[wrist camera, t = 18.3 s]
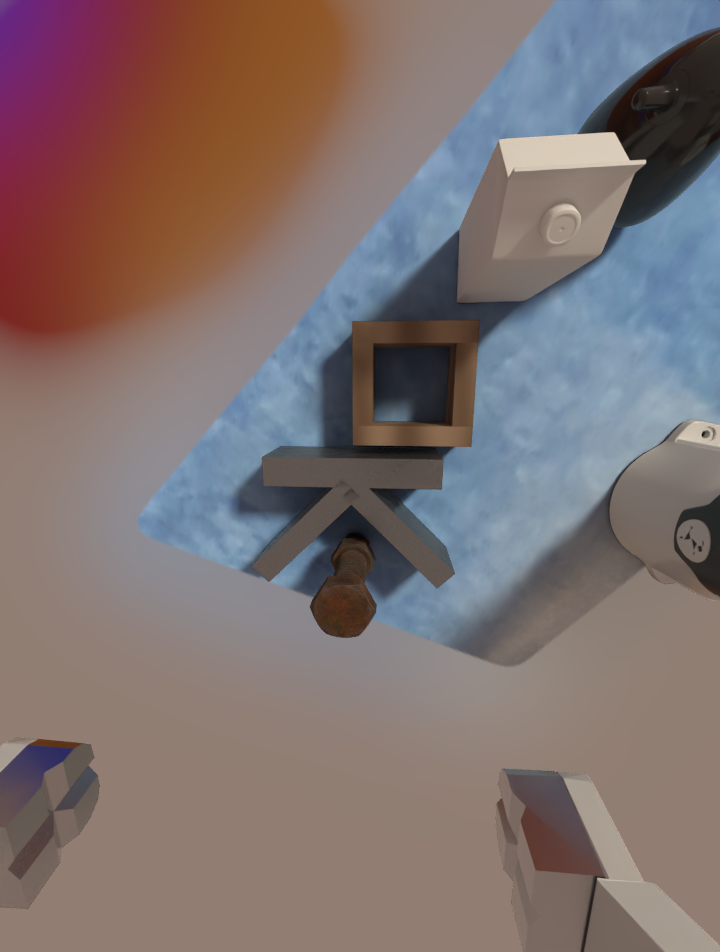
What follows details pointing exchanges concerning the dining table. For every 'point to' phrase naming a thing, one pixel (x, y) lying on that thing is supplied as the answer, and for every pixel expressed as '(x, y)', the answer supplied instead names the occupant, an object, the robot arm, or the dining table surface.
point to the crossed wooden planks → (357, 500)
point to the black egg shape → (665, 124)
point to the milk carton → (540, 213)
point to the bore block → (459, 386)
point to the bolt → (346, 590)
